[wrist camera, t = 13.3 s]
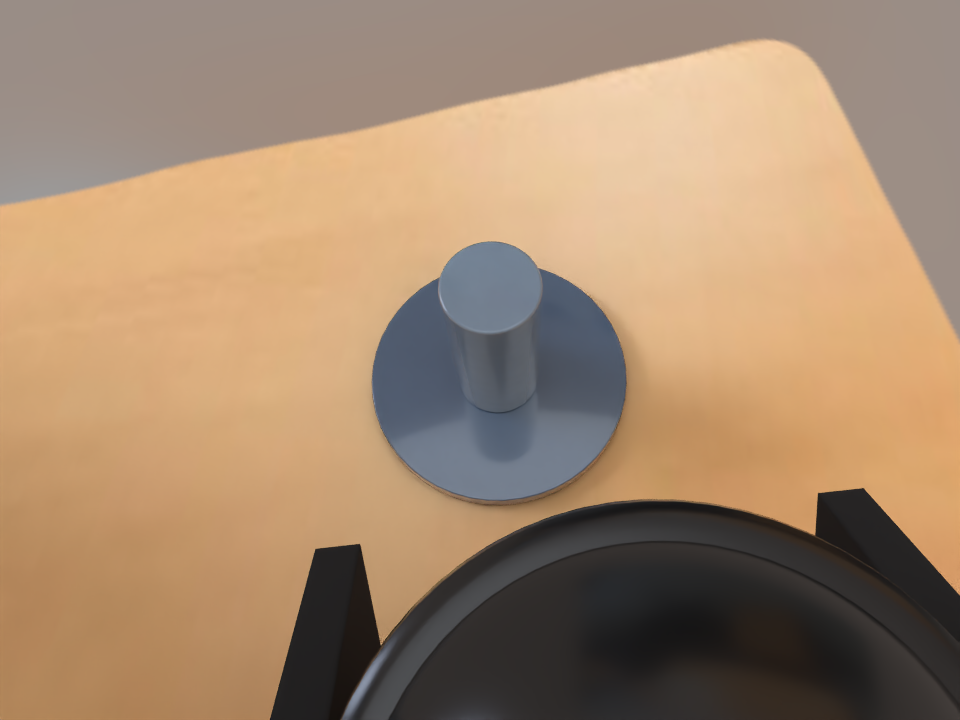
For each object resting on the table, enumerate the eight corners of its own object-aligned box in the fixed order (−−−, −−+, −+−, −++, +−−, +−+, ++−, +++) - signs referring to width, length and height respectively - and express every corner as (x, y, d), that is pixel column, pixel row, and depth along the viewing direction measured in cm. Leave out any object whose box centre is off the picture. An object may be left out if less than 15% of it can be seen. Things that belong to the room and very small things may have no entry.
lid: (326, 369, 32) (264, 272, 25) (512, 229, 34) (508, 100, 27) (482, 560, 29) (467, 517, 22) (677, 393, 31) (726, 299, 24)
